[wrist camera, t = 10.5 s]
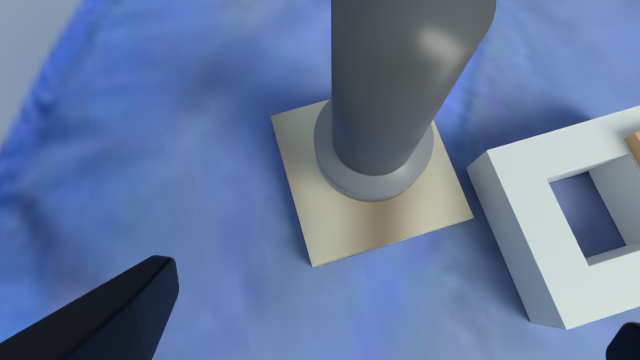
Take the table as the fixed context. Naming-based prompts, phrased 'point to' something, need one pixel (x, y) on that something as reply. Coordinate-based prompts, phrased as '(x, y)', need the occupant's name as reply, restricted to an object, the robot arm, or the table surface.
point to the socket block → (551, 225)
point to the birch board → (356, 216)
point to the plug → (391, 88)
